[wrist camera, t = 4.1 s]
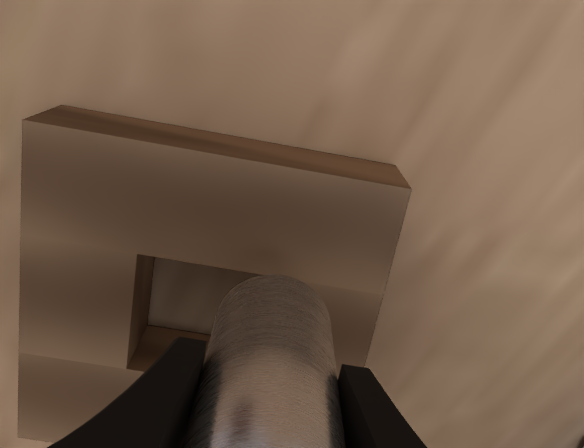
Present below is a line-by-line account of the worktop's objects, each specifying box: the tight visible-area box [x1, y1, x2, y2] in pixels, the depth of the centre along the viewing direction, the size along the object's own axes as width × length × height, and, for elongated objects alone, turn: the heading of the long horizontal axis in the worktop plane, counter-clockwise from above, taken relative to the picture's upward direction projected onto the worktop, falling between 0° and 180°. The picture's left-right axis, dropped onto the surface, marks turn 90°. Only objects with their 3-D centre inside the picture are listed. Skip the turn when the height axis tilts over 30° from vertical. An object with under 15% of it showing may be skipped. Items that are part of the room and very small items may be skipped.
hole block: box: [18, 105, 412, 443], centre depth 20 cm, size 12×12×3 cm
